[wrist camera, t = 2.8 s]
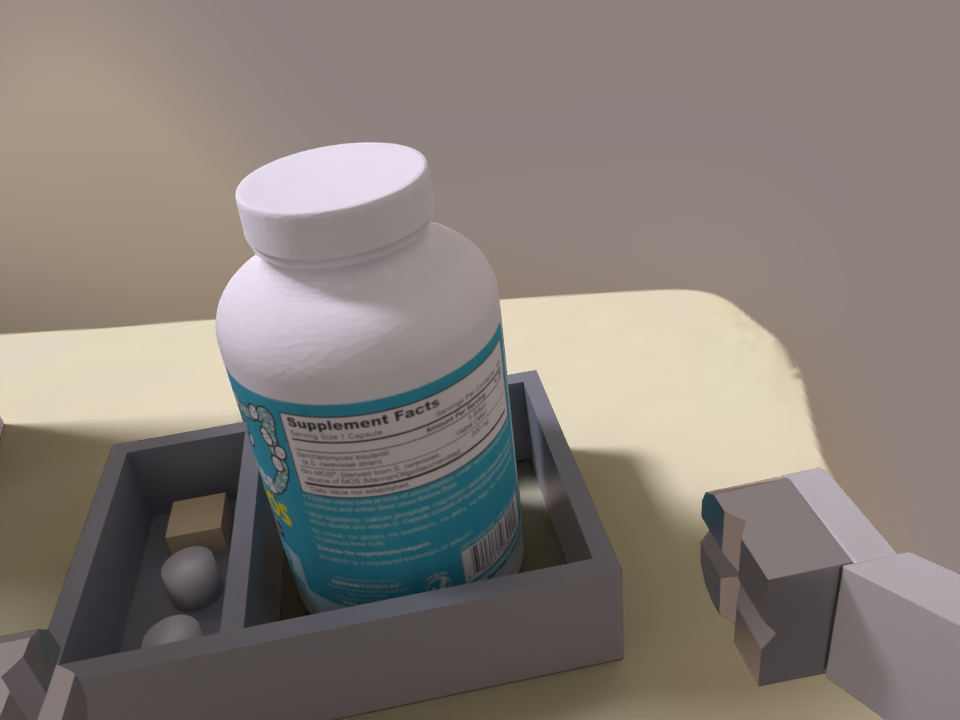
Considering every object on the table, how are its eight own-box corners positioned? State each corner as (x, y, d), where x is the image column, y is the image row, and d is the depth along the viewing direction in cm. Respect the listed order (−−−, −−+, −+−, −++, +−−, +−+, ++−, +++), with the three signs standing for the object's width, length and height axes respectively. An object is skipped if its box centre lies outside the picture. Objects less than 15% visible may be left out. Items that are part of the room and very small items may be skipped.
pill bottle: (322, 498, 31) (226, 137, 23) (523, 486, 30) (487, 112, 23) (275, 671, 24) (124, 249, 17) (529, 659, 24) (482, 218, 17)
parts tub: (77, 773, 22) (26, 689, 20) (144, 520, 30) (112, 445, 29) (623, 658, 23) (621, 570, 22) (542, 446, 32) (536, 369, 30)
